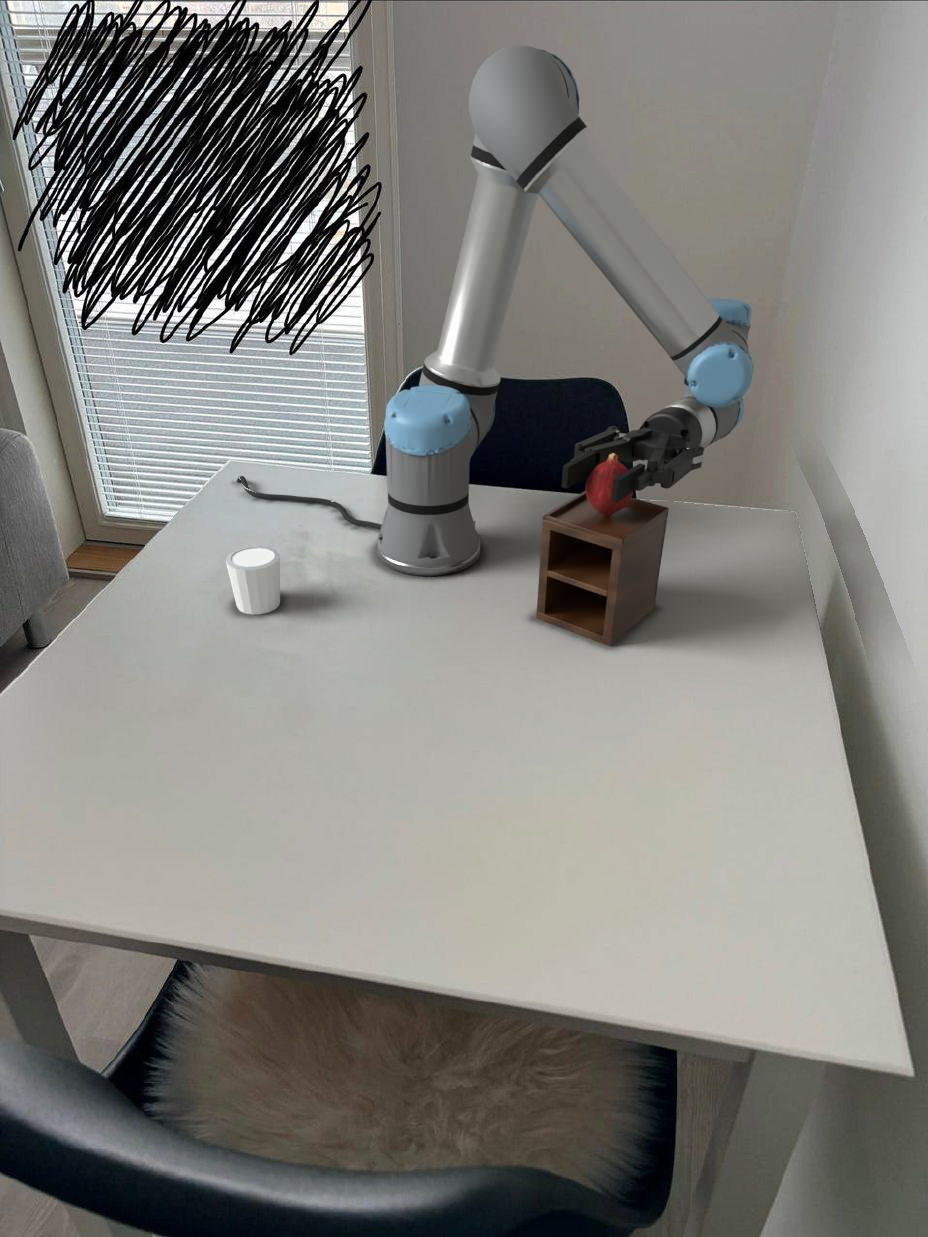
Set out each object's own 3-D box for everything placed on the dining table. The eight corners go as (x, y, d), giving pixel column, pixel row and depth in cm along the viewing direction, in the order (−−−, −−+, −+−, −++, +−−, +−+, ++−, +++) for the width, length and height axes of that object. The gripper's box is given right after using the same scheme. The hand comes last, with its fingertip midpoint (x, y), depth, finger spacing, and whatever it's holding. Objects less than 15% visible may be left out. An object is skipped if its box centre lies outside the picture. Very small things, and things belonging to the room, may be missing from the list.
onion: (633, 526, 106) (641, 463, 102) (585, 525, 106) (591, 462, 102) (626, 507, 111) (633, 446, 107) (581, 506, 111) (586, 445, 107)
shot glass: (290, 592, 119) (286, 546, 116) (276, 618, 113) (271, 570, 110) (241, 589, 120) (235, 543, 116) (224, 615, 114) (217, 567, 110)
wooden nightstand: (536, 618, 114) (542, 515, 107) (583, 584, 123) (592, 486, 115) (610, 646, 109) (622, 540, 101) (654, 608, 117) (668, 507, 109)
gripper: (738, 476, 115) (659, 535, 99) (611, 445, 125) (520, 494, 109) (749, 420, 111) (668, 472, 95) (616, 392, 121) (523, 435, 105)
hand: (589, 483), depth 102 cm, fingers open, 6 cm apart
